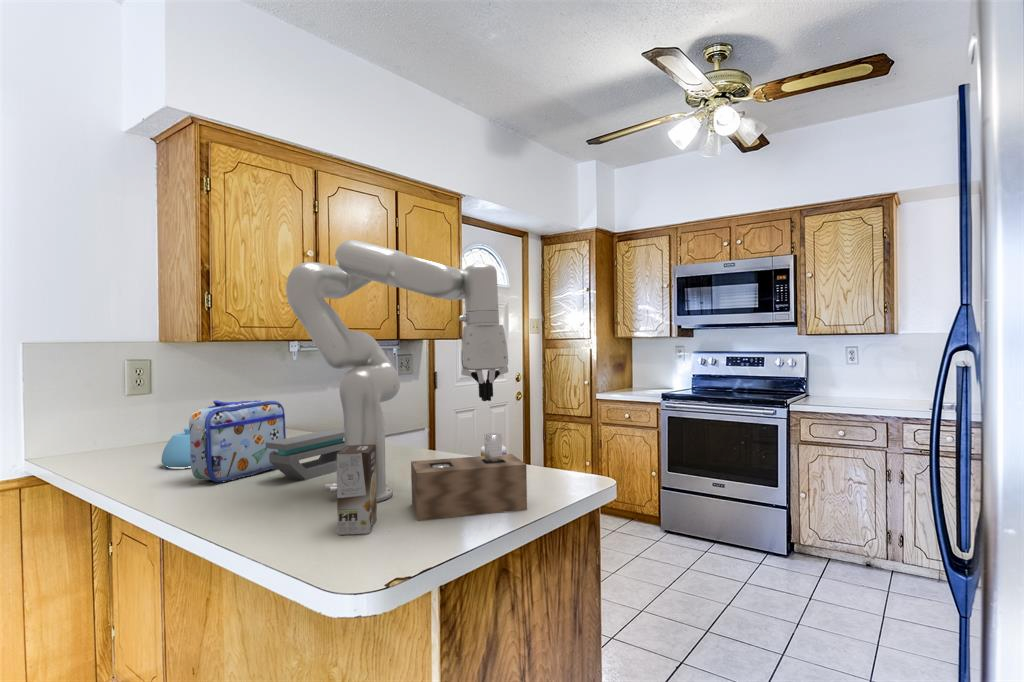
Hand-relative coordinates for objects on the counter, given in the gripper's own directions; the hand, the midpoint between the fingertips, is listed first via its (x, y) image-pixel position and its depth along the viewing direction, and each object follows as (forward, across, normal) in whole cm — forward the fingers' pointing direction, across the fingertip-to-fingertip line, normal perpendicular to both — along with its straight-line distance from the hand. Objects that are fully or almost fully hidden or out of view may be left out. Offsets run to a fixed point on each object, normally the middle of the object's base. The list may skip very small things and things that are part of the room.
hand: (486, 400), depth 127 cm
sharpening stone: (+22, -42, +46) cm, 66 cm away
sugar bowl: (+21, -81, +71) cm, 109 cm away
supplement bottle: (+24, +4, +17) cm, 30 cm away
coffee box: (+23, -29, -6) cm, 38 cm away
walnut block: (+24, -5, +1) cm, 24 cm away
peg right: (+17, +1, +1) cm, 17 cm away
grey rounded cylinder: (+23, -11, +1) cm, 25 cm away
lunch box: (+22, -62, +50) cm, 83 cm away
